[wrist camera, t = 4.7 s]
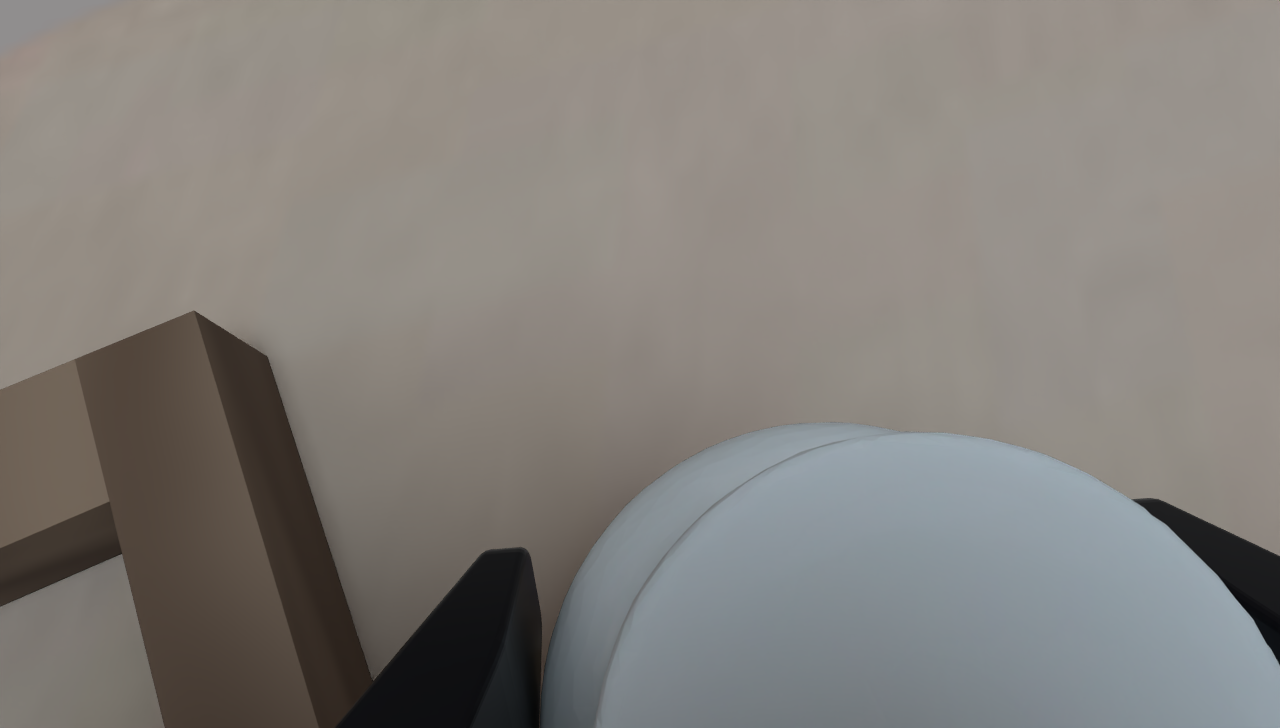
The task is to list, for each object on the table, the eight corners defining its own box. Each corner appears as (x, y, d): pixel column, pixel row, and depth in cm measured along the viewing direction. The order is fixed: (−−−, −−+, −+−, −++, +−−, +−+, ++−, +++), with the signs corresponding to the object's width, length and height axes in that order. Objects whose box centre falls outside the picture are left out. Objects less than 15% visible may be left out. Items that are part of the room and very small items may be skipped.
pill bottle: (585, 523, 14) (437, 364, 5) (882, 490, 14) (1282, 272, 5) (614, 863, 13) (473, 1552, 3) (948, 826, 13) (1707, 1412, 3)
